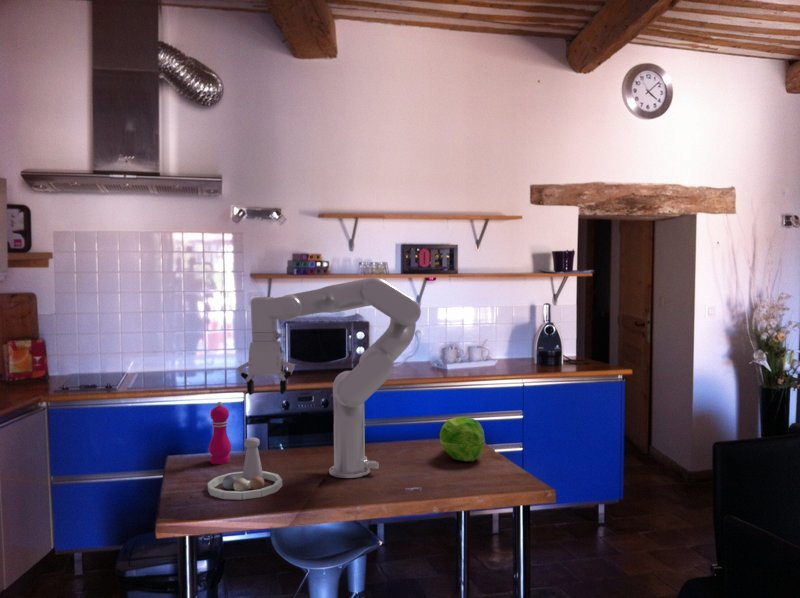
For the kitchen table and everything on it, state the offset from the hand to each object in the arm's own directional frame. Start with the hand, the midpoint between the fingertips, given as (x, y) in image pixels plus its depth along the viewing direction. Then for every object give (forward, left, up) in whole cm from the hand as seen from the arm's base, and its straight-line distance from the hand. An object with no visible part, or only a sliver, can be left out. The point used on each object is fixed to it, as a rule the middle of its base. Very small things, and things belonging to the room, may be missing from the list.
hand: (267, 393), depth 197 cm
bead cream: (+2, +19, -24) cm, 31 cm away
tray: (+2, +14, -26) cm, 29 cm away
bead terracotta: (-1, +17, -24) cm, 29 cm away
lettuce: (-58, -29, -26) cm, 70 cm away
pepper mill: (+21, -15, -26) cm, 37 cm away
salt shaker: (+2, +9, -25) cm, 26 cm away
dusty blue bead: (+6, +17, -24) cm, 30 cm away
